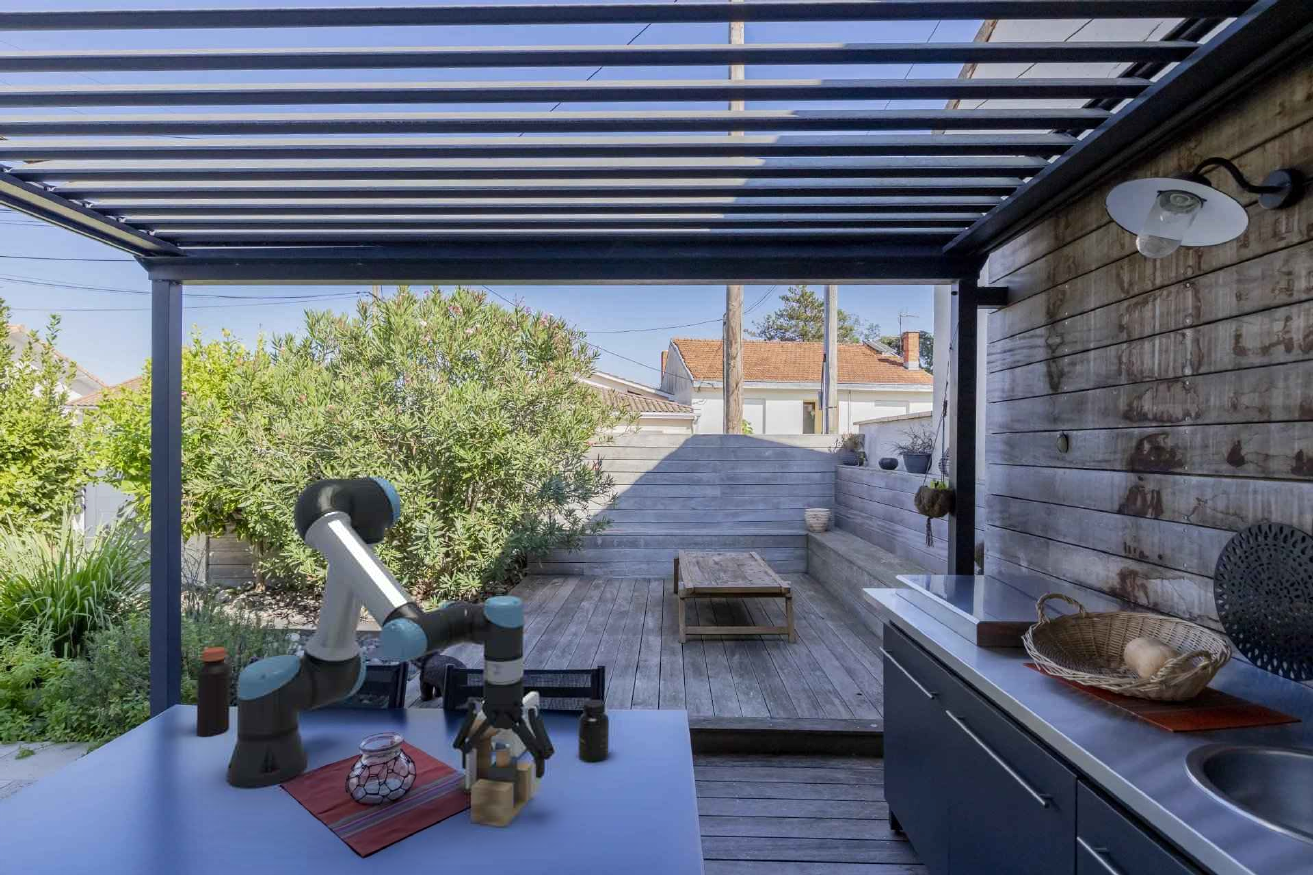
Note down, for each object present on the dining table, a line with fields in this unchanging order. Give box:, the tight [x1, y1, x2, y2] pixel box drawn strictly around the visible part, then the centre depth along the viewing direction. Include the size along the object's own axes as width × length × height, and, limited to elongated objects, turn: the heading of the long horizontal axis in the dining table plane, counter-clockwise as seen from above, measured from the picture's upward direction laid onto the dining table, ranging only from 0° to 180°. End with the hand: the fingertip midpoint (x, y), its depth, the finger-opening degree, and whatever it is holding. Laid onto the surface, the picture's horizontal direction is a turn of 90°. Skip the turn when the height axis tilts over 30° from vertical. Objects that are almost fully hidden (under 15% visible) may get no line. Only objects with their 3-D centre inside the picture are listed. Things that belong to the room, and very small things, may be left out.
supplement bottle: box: [577, 699, 610, 763], centre depth 162 cm, size 7×7×12 cm
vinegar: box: [196, 646, 231, 737], centre depth 176 cm, size 7×7×20 cm
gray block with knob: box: [489, 748, 518, 806], centre depth 138 cm, size 4×4×10 cm
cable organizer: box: [475, 691, 540, 759], centre depth 167 cm, size 15×11×12 cm
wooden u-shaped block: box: [470, 761, 533, 828], centre depth 138 cm, size 7×12×7 cm, turn 166°
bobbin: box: [460, 719, 501, 794], centre depth 148 cm, size 8×8×12 cm
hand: (502, 789), depth 138 cm, fingers open, 13 cm apart
